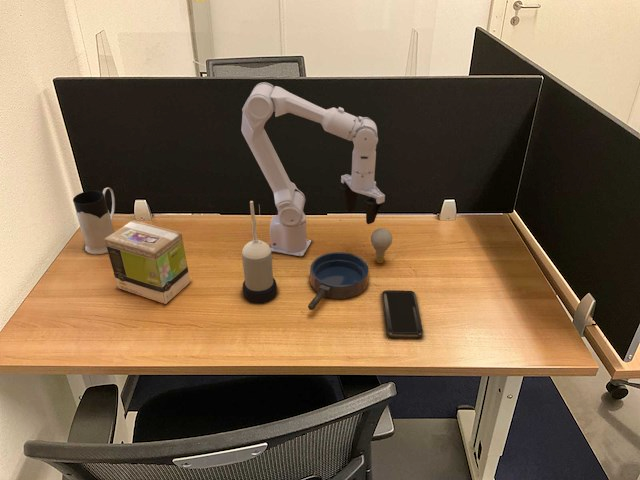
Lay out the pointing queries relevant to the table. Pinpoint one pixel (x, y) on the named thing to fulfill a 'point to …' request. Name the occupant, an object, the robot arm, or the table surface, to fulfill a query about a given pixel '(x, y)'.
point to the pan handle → (319, 296)
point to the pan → (339, 274)
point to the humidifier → (258, 268)
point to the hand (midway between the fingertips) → (360, 216)
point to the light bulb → (381, 242)
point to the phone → (401, 314)
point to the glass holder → (94, 219)
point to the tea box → (148, 260)
